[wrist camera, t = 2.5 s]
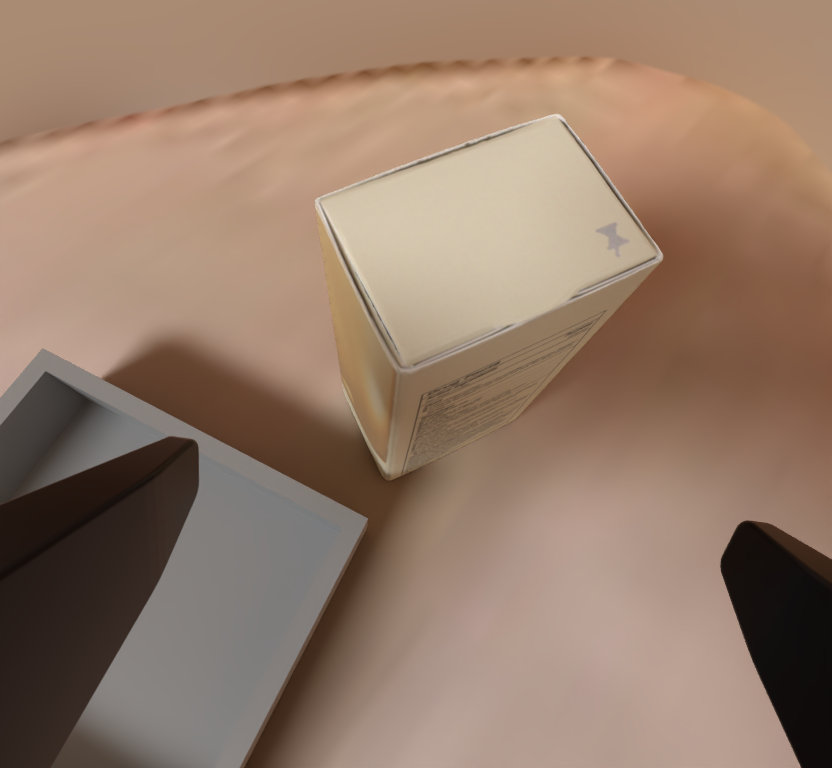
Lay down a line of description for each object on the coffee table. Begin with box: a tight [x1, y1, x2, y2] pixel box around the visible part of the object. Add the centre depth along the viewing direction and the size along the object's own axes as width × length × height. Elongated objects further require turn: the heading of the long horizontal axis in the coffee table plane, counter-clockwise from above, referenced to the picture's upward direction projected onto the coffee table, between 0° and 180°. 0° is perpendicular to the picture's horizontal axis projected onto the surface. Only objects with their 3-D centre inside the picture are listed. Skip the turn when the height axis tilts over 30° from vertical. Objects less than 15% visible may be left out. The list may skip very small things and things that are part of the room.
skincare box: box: [315, 114, 663, 481], centre depth 16 cm, size 6×4×12 cm
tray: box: [0, 349, 368, 768], centre depth 17 cm, size 12×12×4 cm
